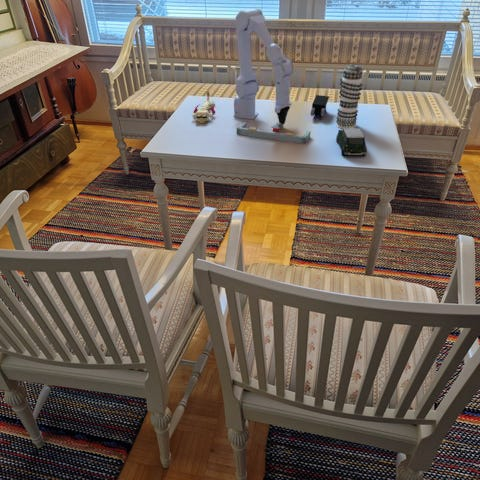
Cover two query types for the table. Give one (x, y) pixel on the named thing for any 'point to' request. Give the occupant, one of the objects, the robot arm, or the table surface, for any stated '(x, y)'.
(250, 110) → the robot arm
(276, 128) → the propeller
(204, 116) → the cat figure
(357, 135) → the miniature car
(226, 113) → the table surface
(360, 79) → the model tower building
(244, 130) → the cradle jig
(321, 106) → the figurine character
